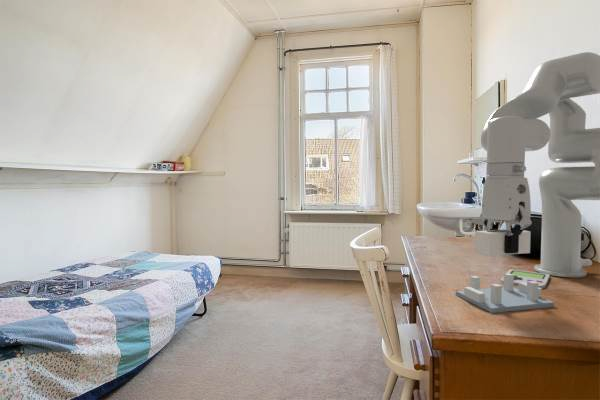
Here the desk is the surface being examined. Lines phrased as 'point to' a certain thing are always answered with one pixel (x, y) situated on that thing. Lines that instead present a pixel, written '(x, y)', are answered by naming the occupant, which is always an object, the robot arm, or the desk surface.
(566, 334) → the desk surface
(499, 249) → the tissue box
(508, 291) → the bracket board
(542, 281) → the handheld gaming console
